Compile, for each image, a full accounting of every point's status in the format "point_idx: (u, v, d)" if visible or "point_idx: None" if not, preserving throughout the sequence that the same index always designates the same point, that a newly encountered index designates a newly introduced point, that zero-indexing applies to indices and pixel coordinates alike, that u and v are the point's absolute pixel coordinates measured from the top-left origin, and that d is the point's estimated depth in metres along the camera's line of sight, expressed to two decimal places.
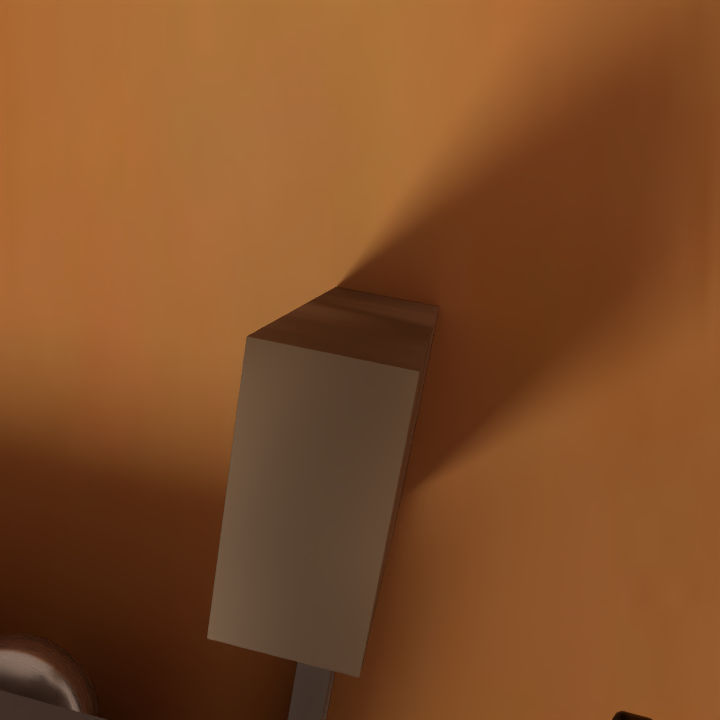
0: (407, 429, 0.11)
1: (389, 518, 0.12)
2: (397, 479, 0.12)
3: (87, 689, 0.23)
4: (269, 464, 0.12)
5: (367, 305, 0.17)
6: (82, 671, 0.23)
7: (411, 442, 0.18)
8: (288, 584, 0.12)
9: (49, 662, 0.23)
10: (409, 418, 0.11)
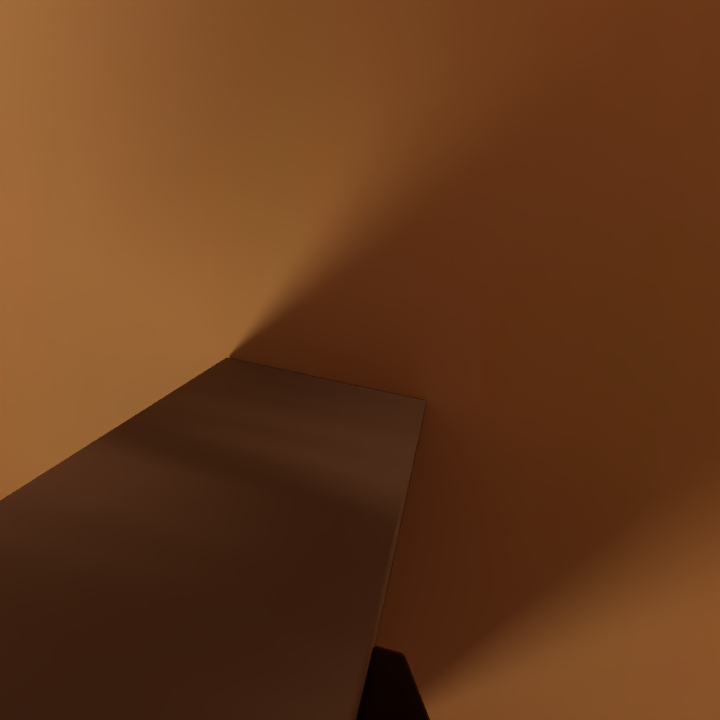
0: None
1: None
2: None
3: None
4: None
5: (261, 424, 0.08)
6: None
7: None
8: None
9: None
10: None
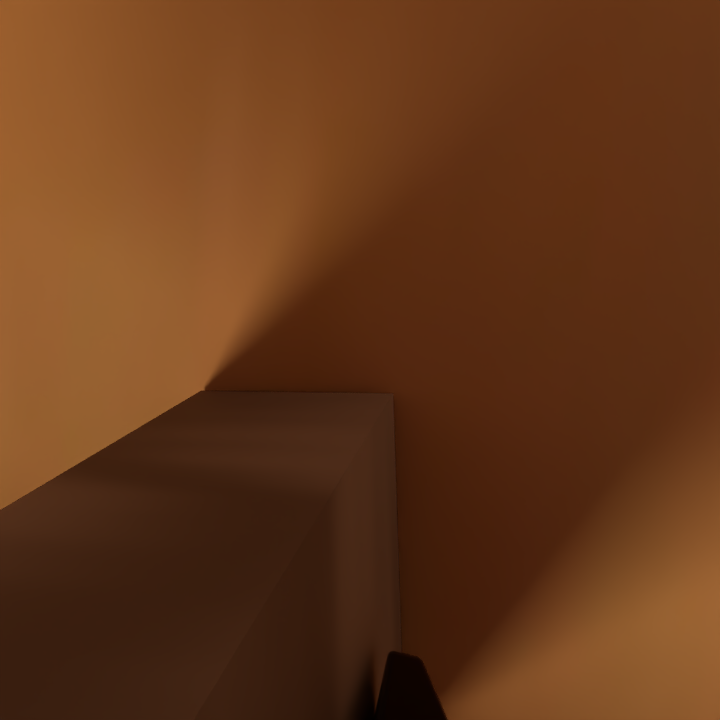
0: None
1: None
2: None
3: None
4: None
5: (217, 440, 0.08)
6: None
7: None
8: None
9: None
10: None
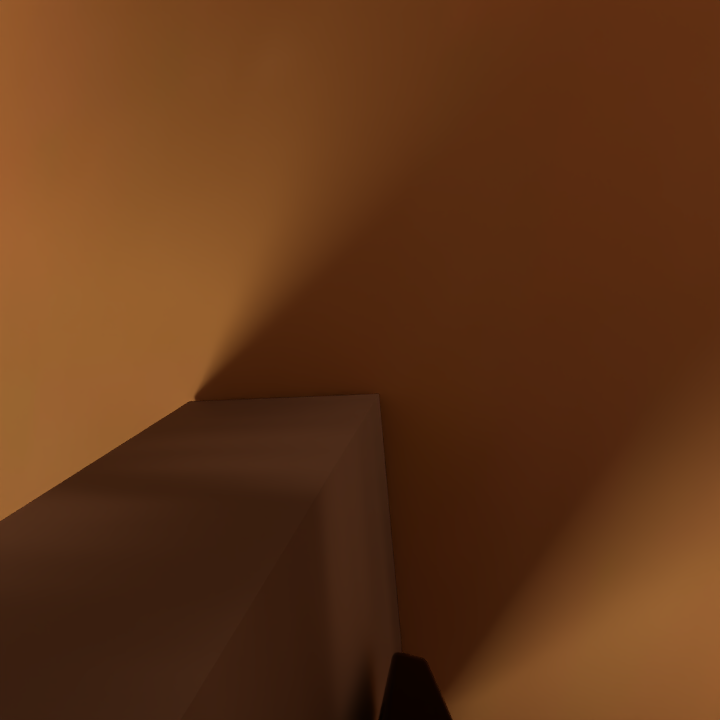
0: None
1: None
2: None
3: None
4: None
5: (206, 448, 0.08)
6: None
7: (388, 668, 0.09)
8: None
9: None
10: None
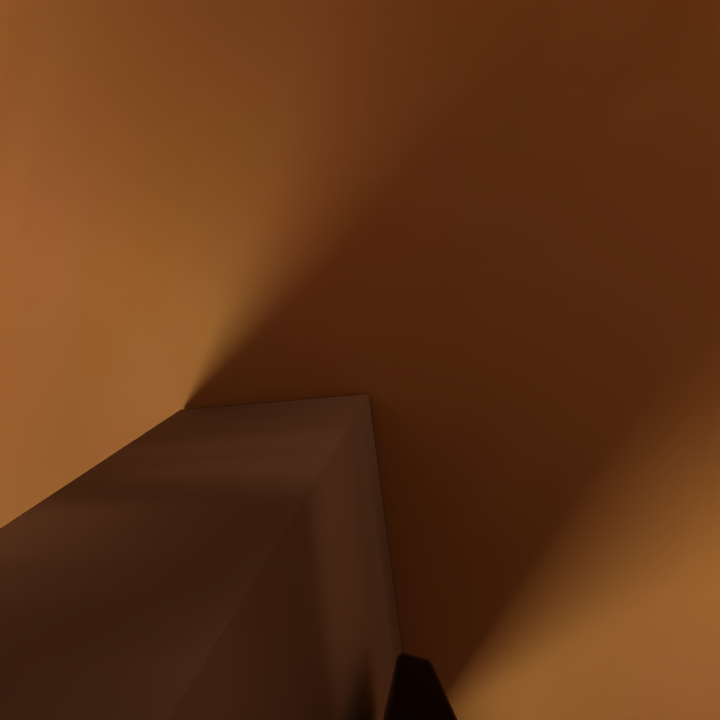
0: None
1: None
2: None
3: None
4: None
5: (197, 453, 0.08)
6: None
7: (388, 667, 0.09)
8: None
9: None
10: None
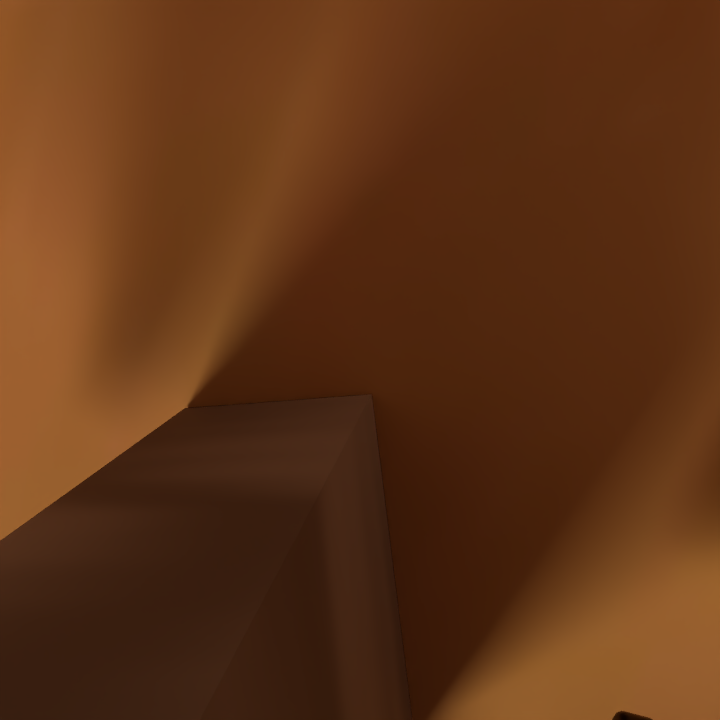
0: None
1: None
2: None
3: None
4: None
5: (204, 455, 0.08)
6: None
7: (390, 662, 0.10)
8: None
9: None
10: None
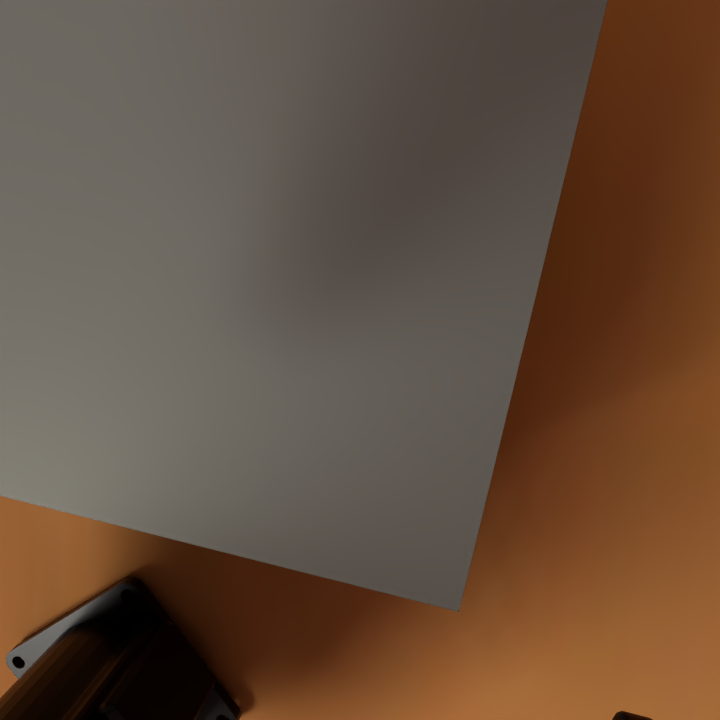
0: None
1: None
2: None
3: None
4: None
5: None
6: None
7: None
8: None
9: None
10: None
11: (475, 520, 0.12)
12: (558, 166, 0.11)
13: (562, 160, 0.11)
